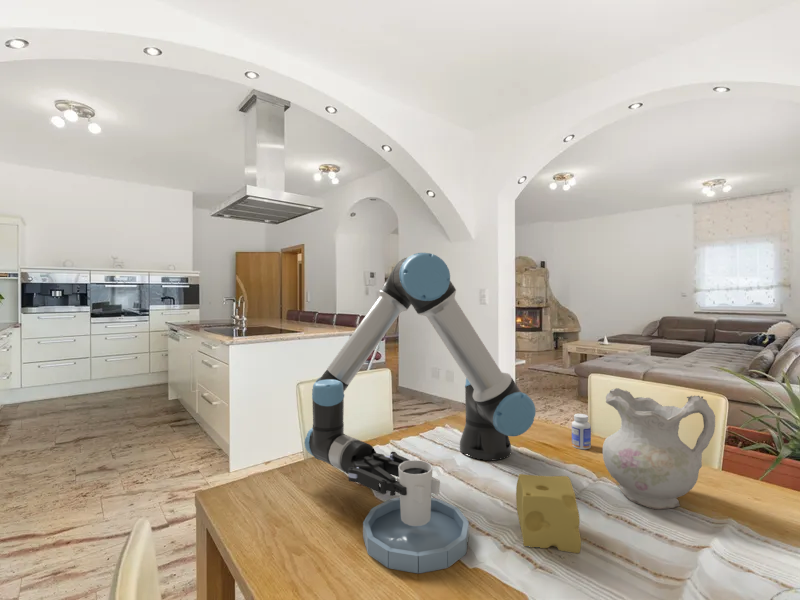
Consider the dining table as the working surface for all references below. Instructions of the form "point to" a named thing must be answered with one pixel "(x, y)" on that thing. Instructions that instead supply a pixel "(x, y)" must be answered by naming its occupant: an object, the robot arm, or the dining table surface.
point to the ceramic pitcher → (654, 449)
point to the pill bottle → (581, 432)
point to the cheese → (548, 512)
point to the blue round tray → (416, 537)
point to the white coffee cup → (409, 477)
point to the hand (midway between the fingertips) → (430, 491)
